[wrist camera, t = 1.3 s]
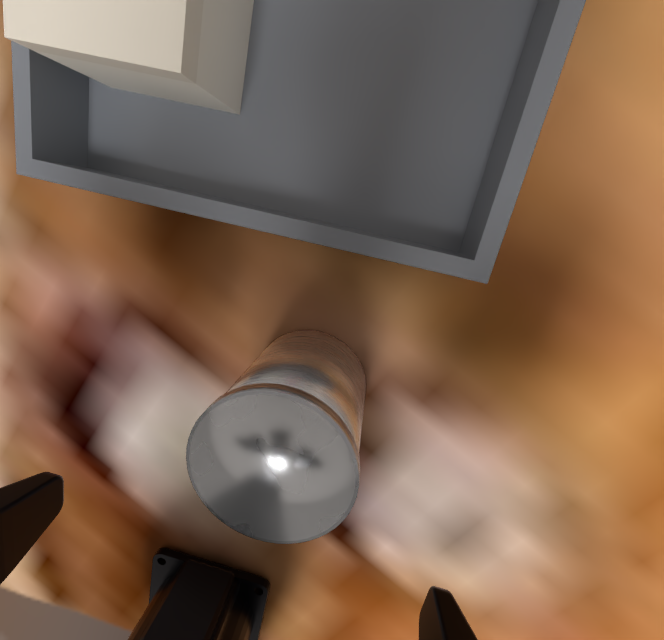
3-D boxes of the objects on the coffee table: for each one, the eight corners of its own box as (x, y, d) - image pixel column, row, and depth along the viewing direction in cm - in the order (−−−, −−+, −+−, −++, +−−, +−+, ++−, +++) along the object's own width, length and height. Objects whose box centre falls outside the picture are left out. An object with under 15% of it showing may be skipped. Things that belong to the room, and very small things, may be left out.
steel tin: (353, 446, 17) (337, 563, 11) (246, 417, 17) (178, 516, 12) (381, 344, 15) (379, 419, 10) (264, 315, 16) (195, 370, 10)
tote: (466, 270, 14) (487, 283, 11) (85, 181, 15) (16, 173, 12) (616, -188, 10) (705, -344, 7) (90, -260, 11) (-8, -419, 9)
